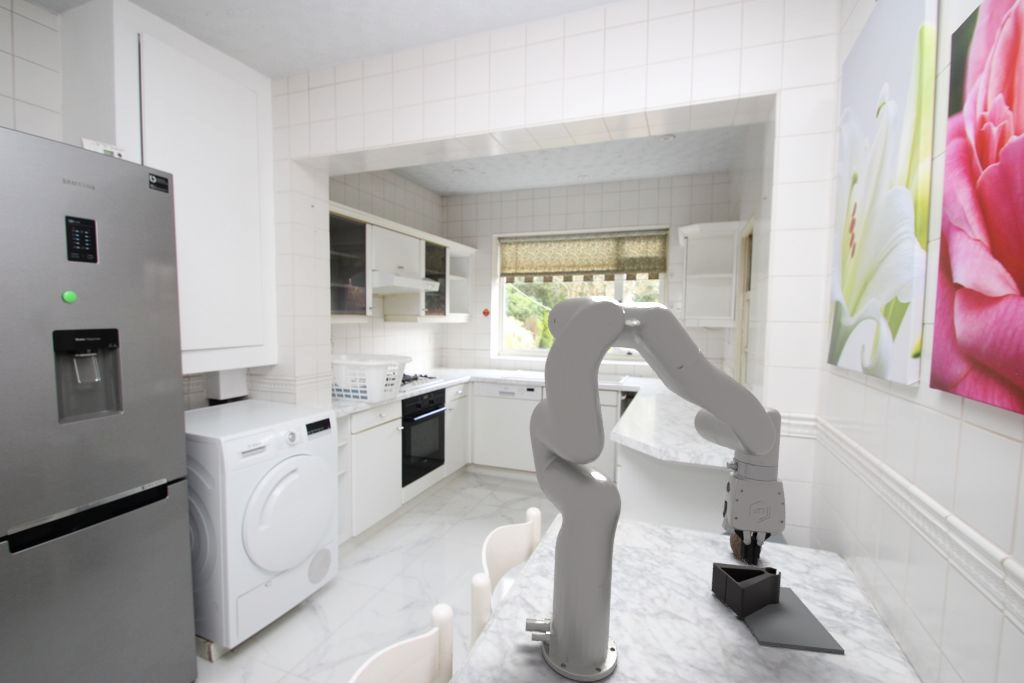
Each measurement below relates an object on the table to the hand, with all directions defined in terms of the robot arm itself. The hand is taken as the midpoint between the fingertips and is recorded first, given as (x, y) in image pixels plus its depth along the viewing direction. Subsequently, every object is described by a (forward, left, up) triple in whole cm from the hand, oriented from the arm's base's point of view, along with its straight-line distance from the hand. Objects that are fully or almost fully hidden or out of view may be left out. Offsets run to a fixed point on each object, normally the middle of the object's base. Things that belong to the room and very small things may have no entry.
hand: (749, 561), depth 85 cm
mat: (+6, 0, -10) cm, 12 cm away
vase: (+9, +22, -10) cm, 26 cm away
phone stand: (-4, +1, -7) cm, 8 cm away
